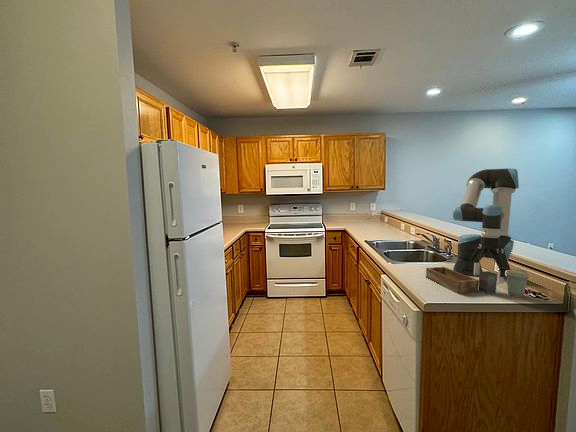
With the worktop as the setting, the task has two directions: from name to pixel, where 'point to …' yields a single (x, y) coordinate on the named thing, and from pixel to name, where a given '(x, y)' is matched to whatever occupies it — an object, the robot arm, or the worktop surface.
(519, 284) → the coffee cup
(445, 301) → the worktop surface
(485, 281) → the dark grey block
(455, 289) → the wooden box
